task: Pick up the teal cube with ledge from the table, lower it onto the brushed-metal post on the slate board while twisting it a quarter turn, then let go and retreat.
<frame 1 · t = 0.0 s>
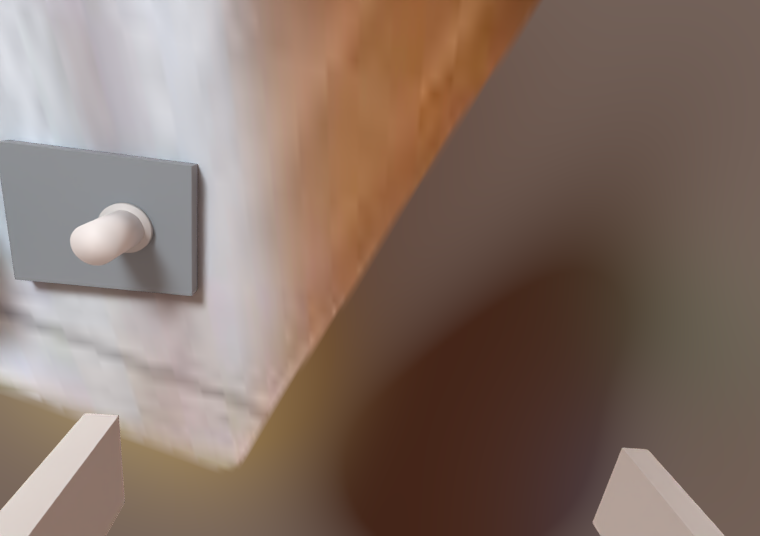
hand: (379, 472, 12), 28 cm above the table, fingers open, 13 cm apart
post board: (110, 220, 36), on the table
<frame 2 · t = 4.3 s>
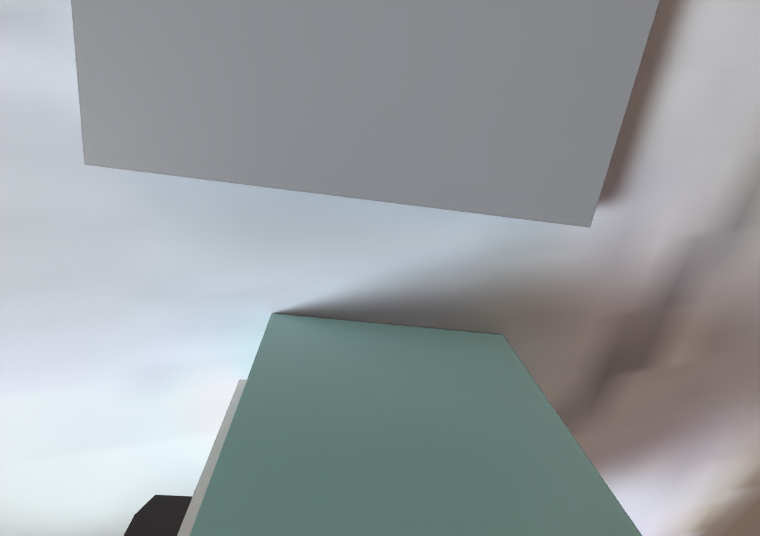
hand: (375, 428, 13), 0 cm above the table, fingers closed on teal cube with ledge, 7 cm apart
teal cube with ledge: (375, 420, 13), on the table, touching gripper
when the fingers open (3 cm above the table, at t = 10.0 s): teal cube with ledge drops 1 cm, resting on post board.
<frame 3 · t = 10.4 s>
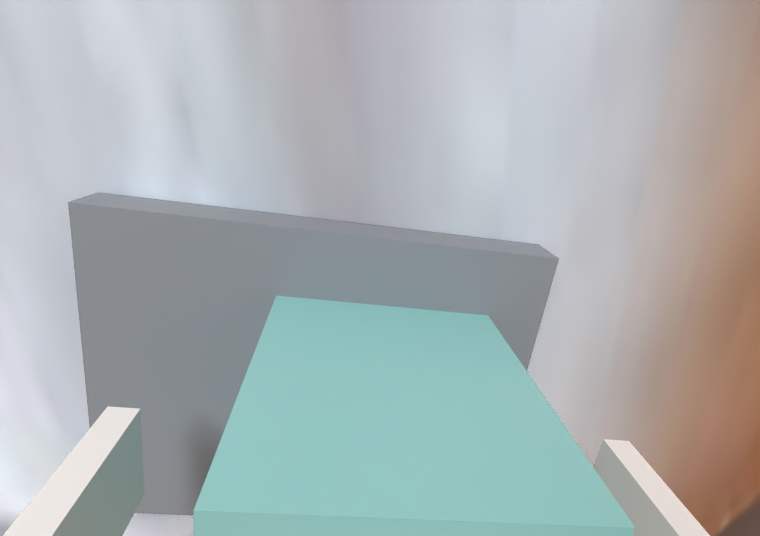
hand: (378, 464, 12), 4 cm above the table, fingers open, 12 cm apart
teal cube with ledge: (371, 395, 15), point 1 cm above the table, touching post board
post board: (315, 368, 16), on the table
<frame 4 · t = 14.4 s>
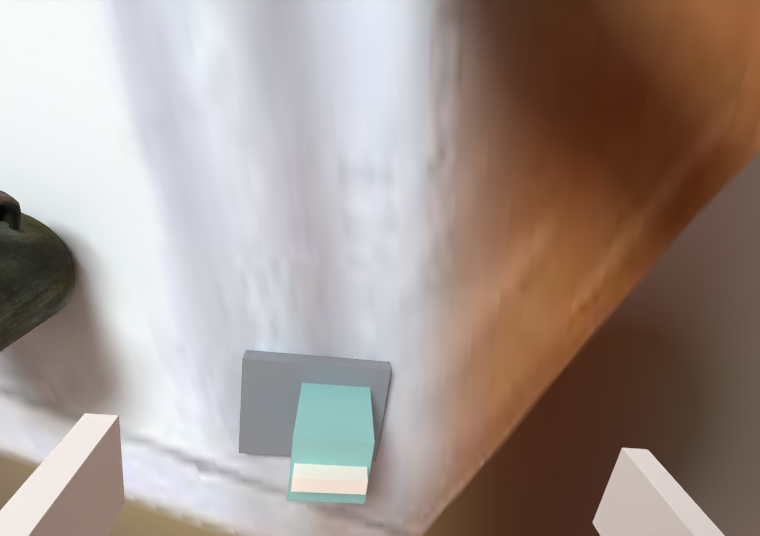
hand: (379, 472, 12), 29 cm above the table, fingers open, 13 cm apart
teal cube with ledge: (332, 413, 43), point 1 cm above the table, touching post board
post board: (314, 403, 45), on the table
mug: (24, 248, 38), on the table
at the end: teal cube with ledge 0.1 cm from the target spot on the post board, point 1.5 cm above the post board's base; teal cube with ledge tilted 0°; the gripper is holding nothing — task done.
